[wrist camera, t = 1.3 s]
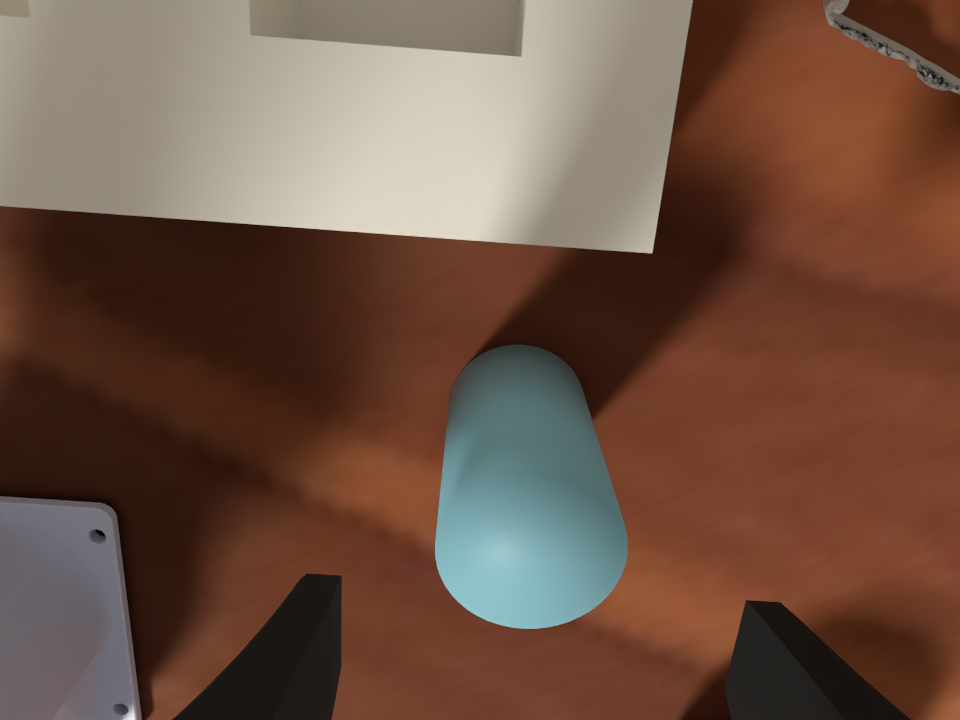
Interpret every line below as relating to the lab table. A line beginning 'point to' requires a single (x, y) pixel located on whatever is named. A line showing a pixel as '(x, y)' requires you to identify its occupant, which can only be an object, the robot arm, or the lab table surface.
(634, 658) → the lab table surface
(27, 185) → the hole board
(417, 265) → the lab table surface
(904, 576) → the lab table surface
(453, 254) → the lab table surface
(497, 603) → the pin
